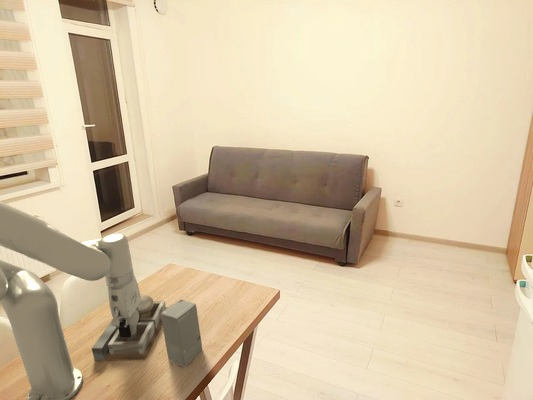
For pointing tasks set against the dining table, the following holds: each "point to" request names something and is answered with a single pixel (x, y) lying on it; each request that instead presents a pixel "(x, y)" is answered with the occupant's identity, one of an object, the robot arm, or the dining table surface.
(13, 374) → the dining table surface
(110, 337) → the compartment tray
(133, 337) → the lightbulb
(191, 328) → the skincare box
